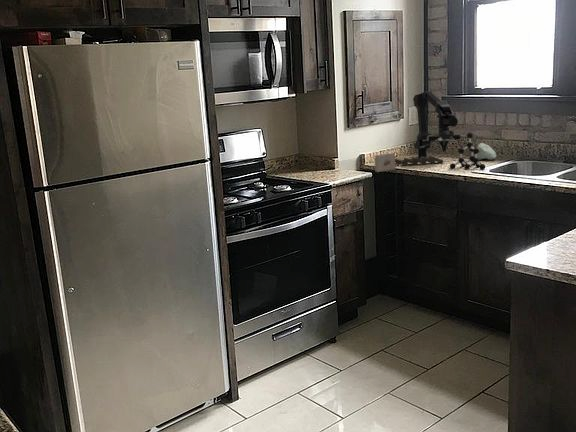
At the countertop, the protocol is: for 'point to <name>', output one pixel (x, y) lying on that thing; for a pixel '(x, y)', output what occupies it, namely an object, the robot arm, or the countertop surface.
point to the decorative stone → (485, 152)
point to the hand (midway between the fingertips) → (443, 151)
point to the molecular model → (472, 158)
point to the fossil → (384, 162)
